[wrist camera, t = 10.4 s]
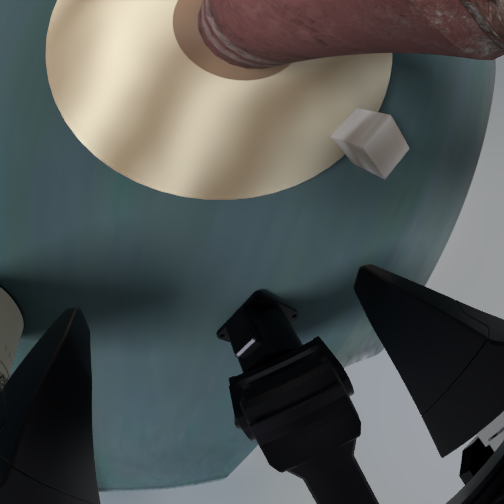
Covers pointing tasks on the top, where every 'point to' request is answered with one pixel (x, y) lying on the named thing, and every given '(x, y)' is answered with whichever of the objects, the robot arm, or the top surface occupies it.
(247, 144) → the turntable
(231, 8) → the can
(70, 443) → the robot arm
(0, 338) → the travel mug
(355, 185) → the top surface
